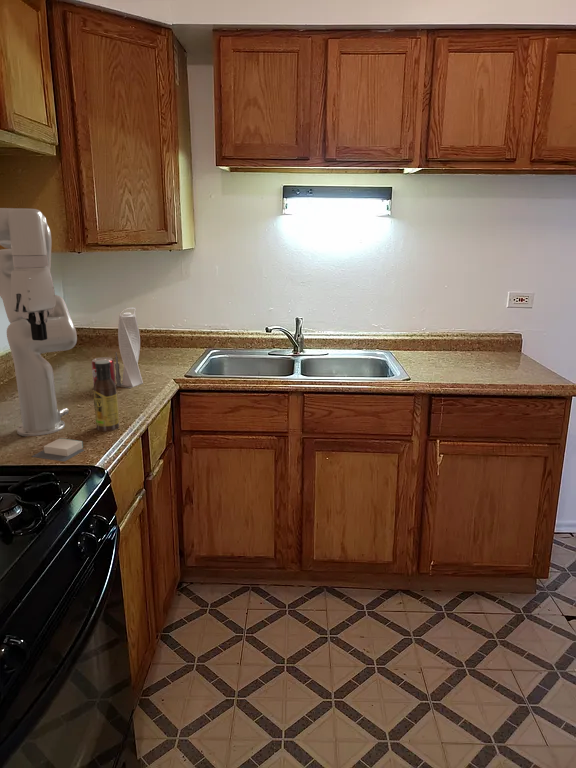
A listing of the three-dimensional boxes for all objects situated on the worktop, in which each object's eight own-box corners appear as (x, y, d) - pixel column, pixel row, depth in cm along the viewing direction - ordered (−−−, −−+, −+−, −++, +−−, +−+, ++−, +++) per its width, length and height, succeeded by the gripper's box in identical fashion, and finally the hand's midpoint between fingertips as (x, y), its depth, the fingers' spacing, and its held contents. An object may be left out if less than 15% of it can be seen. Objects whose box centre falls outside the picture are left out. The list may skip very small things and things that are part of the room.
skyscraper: (130, 381, 216) (125, 306, 209) (148, 383, 213) (142, 307, 205) (115, 386, 209) (108, 309, 201) (132, 389, 205) (126, 310, 198)
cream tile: (67, 456, 144) (83, 447, 149) (66, 449, 143) (82, 441, 149) (44, 452, 146) (60, 444, 151) (43, 446, 145) (60, 438, 151)
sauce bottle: (94, 428, 165) (88, 360, 160) (117, 424, 168) (111, 357, 163) (99, 435, 160) (92, 365, 155) (122, 431, 163) (116, 362, 157)
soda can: (107, 397, 195) (104, 362, 192) (89, 395, 197) (86, 361, 194) (120, 391, 202) (118, 358, 198) (103, 389, 204) (100, 356, 201)
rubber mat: (53, 447, 151) (53, 445, 151) (85, 451, 148) (85, 449, 148) (31, 458, 144) (31, 456, 144) (64, 463, 141) (64, 461, 141)
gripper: (40, 261, 144) (48, 333, 149) (-7, 264, 131) (4, 344, 135) (65, 261, 142) (72, 335, 147) (20, 265, 128) (30, 346, 133)
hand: (39, 339), depth 141 cm, fingers closed
